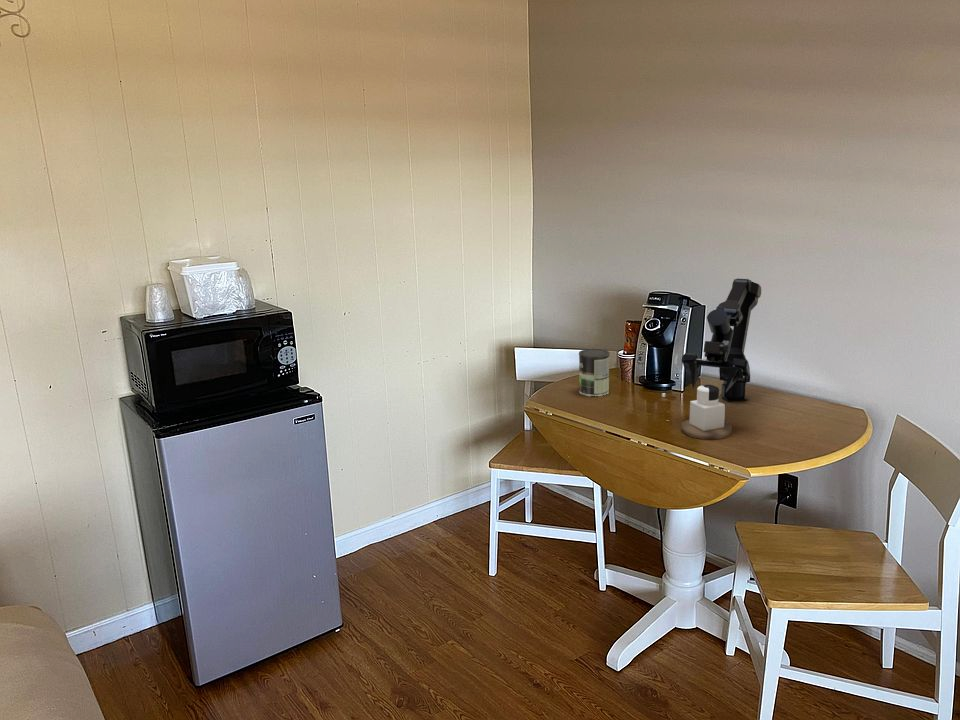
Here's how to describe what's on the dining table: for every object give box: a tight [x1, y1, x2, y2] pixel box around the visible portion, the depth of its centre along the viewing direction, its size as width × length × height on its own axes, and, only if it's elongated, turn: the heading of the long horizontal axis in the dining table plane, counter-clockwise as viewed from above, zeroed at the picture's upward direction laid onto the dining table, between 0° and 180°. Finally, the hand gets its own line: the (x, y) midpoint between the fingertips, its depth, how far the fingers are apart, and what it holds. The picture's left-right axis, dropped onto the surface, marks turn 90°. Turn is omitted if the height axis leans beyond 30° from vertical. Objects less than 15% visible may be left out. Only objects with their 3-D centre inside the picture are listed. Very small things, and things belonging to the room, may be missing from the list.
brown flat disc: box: [680, 418, 732, 441], centre depth 222 cm, size 14×14×2 cm
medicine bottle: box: [689, 384, 726, 431], centre depth 221 cm, size 7×7×12 cm
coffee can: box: [578, 348, 610, 398], centre depth 259 cm, size 10×10×14 cm
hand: (709, 389), depth 220 cm, fingers open, 9 cm apart
